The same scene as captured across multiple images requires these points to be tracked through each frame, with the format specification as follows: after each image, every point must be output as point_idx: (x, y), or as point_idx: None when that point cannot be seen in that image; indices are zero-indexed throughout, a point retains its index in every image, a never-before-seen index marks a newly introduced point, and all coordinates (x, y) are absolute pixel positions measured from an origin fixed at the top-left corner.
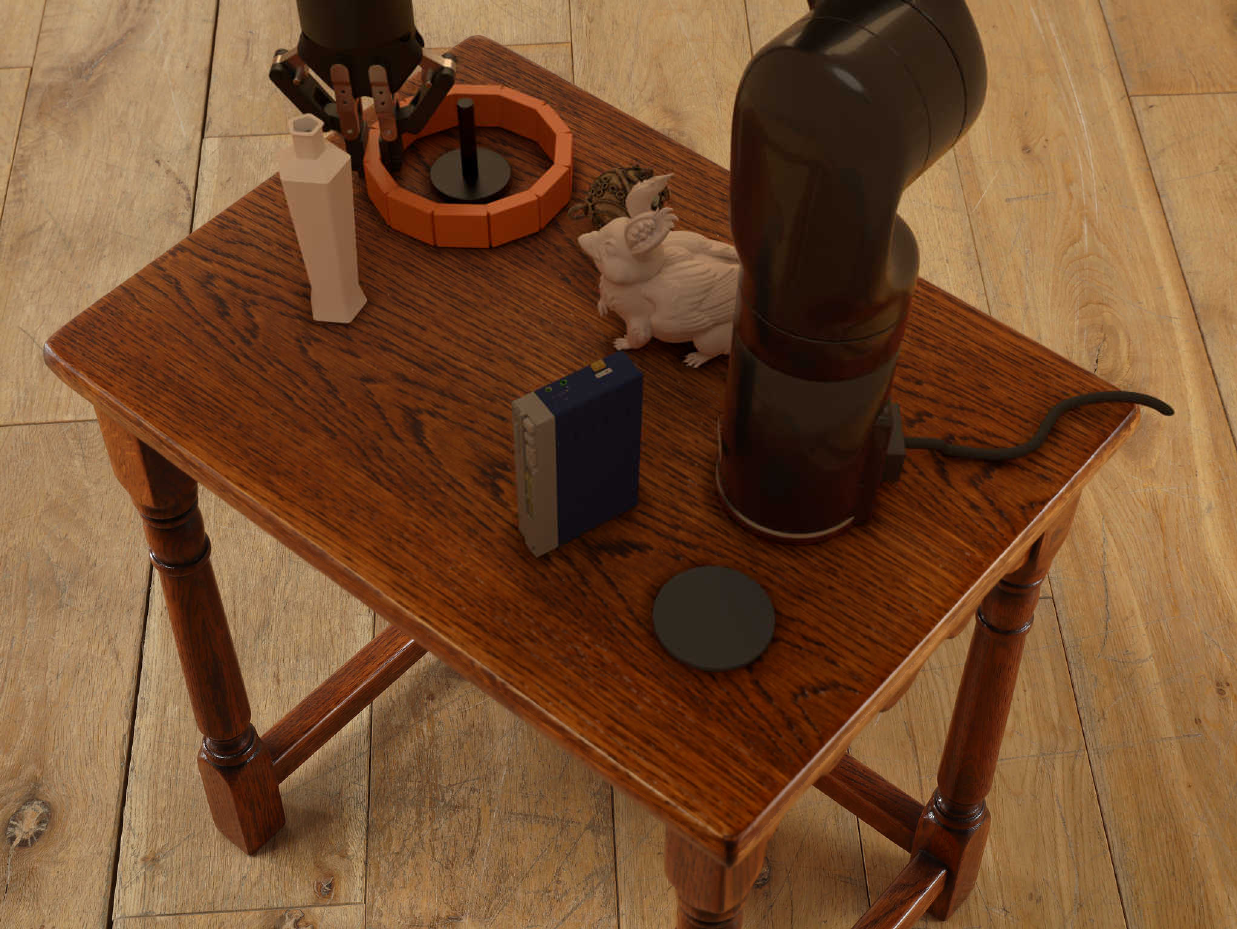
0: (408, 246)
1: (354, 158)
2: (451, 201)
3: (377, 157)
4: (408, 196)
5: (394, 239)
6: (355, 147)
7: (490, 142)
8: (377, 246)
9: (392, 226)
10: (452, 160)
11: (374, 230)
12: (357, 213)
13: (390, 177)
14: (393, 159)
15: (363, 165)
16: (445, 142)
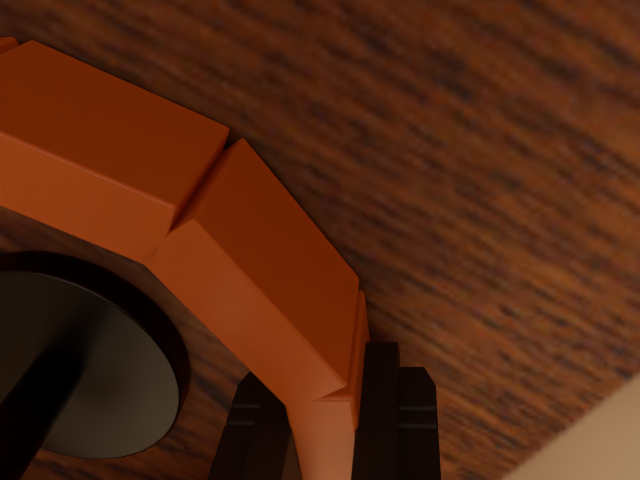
0: (136, 35)
1: (408, 413)
2: (68, 266)
3: (297, 415)
4: (71, 207)
5: (204, 70)
6: (390, 459)
7: (91, 470)
8: (258, 17)
9: (218, 126)
10: (128, 416)
11: (296, 113)
12: (384, 197)
13: (201, 315)
14: (257, 411)
15: (370, 385)
16: (201, 471)
